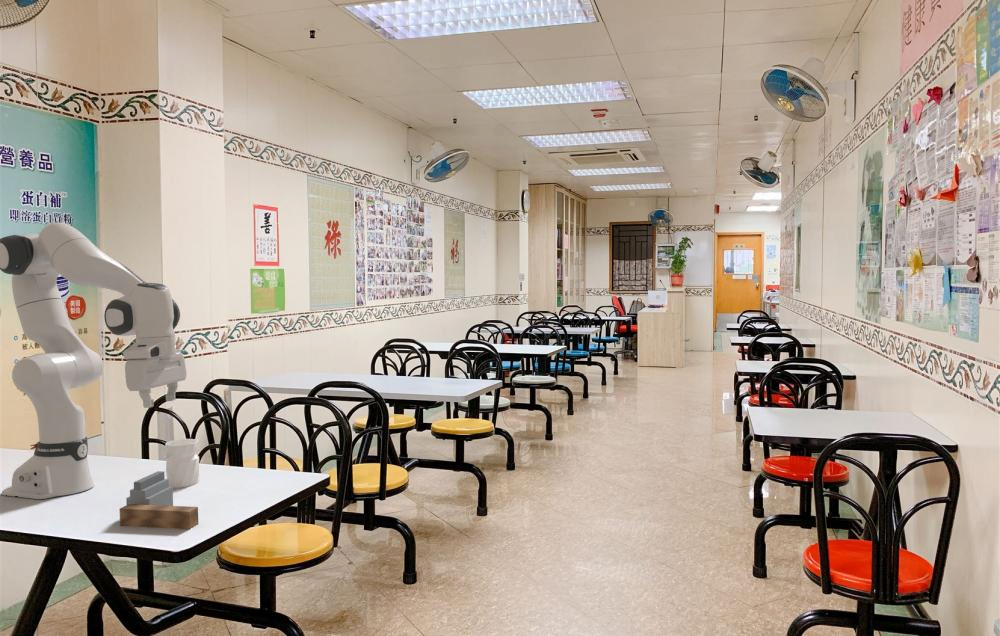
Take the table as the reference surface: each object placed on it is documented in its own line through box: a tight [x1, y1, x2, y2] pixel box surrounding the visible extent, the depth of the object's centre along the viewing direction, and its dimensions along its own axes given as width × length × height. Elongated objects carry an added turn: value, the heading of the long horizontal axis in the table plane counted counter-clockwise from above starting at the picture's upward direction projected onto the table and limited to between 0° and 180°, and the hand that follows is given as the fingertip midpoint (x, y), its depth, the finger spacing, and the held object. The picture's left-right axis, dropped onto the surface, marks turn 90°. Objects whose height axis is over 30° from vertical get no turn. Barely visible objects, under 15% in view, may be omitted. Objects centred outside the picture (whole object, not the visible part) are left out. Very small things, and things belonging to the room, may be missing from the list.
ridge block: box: [125, 470, 174, 506], centre depth 180 cm, size 6×10×9 cm, turn 173°
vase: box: [164, 438, 201, 488], centre depth 206 cm, size 9×9×12 cm
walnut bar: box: [119, 504, 199, 530], centre depth 171 cm, size 18×4×4 cm, turn 82°
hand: (160, 404), depth 177 cm, fingers open, 8 cm apart
